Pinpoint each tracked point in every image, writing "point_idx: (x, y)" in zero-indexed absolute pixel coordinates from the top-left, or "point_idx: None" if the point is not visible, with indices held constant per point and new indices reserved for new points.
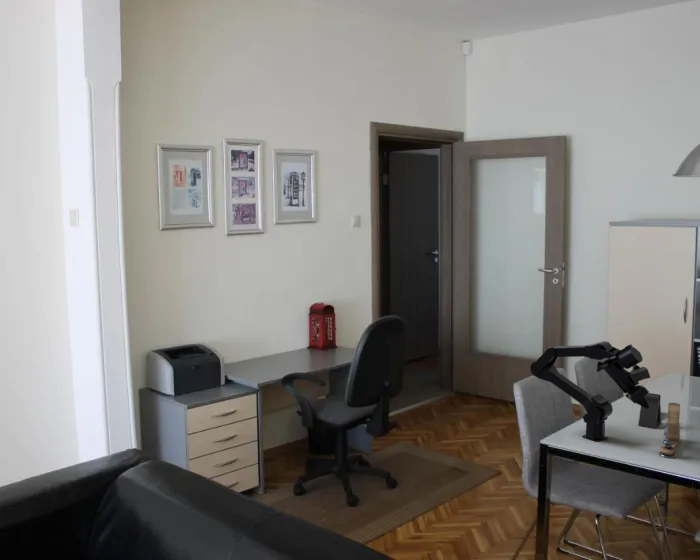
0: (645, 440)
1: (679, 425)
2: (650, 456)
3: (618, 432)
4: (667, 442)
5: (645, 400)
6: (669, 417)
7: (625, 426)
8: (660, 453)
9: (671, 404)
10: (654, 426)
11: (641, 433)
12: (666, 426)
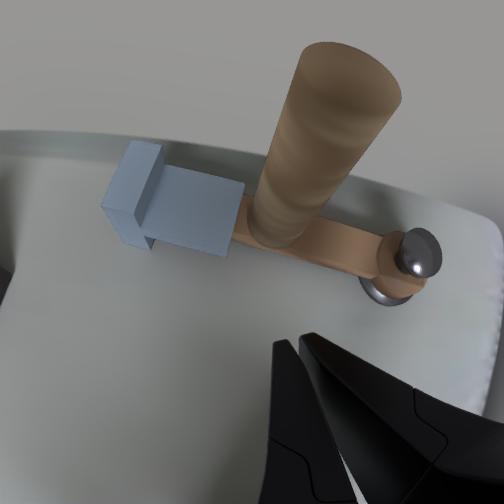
0: (200, 353)
1: (162, 150)
2: (420, 339)
3: (104, 466)
4: (440, 259)
5: (401, 387)
6: (342, 179)
7: (5, 407)
8: (393, 299)
9: (380, 97)
10: (5, 273)
11: (84, 355)
12: (140, 220)
